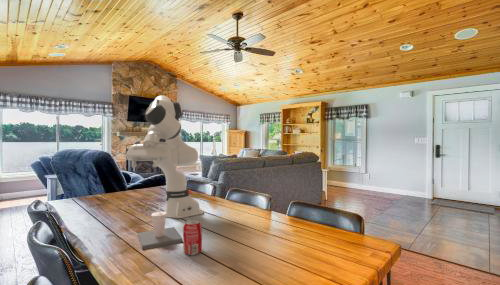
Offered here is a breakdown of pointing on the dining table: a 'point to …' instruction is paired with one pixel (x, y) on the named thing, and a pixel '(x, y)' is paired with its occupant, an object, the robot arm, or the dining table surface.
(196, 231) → the soda can
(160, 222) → the smoothie
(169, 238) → the gray square slab
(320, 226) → the dining table surface
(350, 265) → the dining table surface
